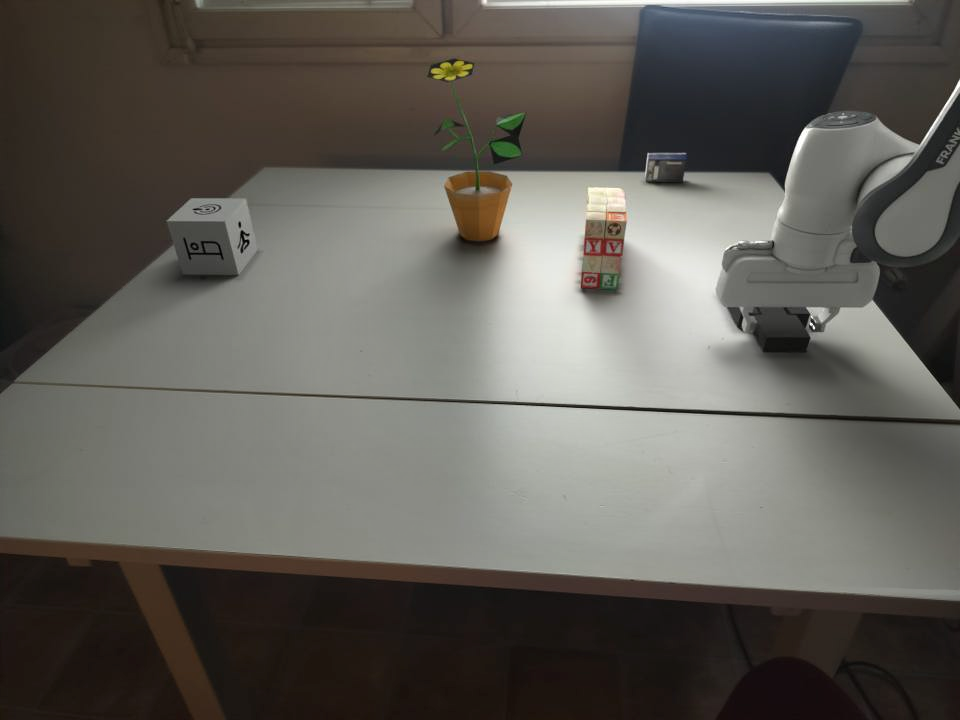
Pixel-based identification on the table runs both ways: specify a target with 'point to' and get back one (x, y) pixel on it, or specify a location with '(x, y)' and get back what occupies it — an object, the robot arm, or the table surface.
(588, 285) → the stack of blocks
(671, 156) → the mini dv tape
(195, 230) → the icon cube
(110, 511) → the table surface
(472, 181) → the potted plant
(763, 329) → the black tabbed insert block
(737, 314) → the base
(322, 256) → the table surface
